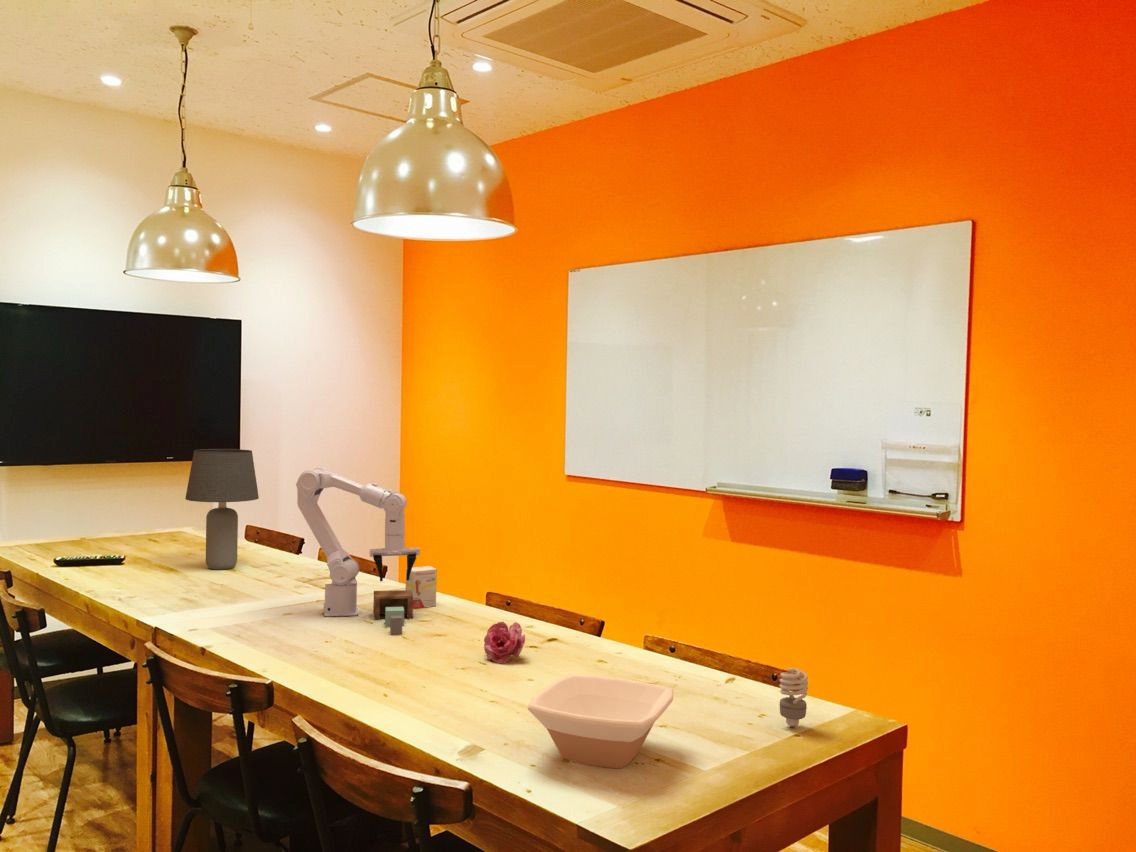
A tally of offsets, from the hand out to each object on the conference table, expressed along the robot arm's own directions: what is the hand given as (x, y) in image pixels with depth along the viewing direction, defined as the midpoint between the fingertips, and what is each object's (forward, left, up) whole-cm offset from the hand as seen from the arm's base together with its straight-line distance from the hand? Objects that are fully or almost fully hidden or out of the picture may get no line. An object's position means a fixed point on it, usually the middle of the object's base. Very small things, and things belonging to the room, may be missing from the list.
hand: (394, 580), depth 274 cm
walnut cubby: (0, -1, -10) cm, 10 cm away
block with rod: (0, -15, -10) cm, 19 cm away
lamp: (-58, +81, -11) cm, 100 cm away
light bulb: (+75, -106, -11) cm, 130 cm away
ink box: (+9, +11, -11) cm, 18 cm away
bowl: (+33, -113, -11) cm, 118 cm away
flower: (+25, -49, -11) cm, 56 cm away
